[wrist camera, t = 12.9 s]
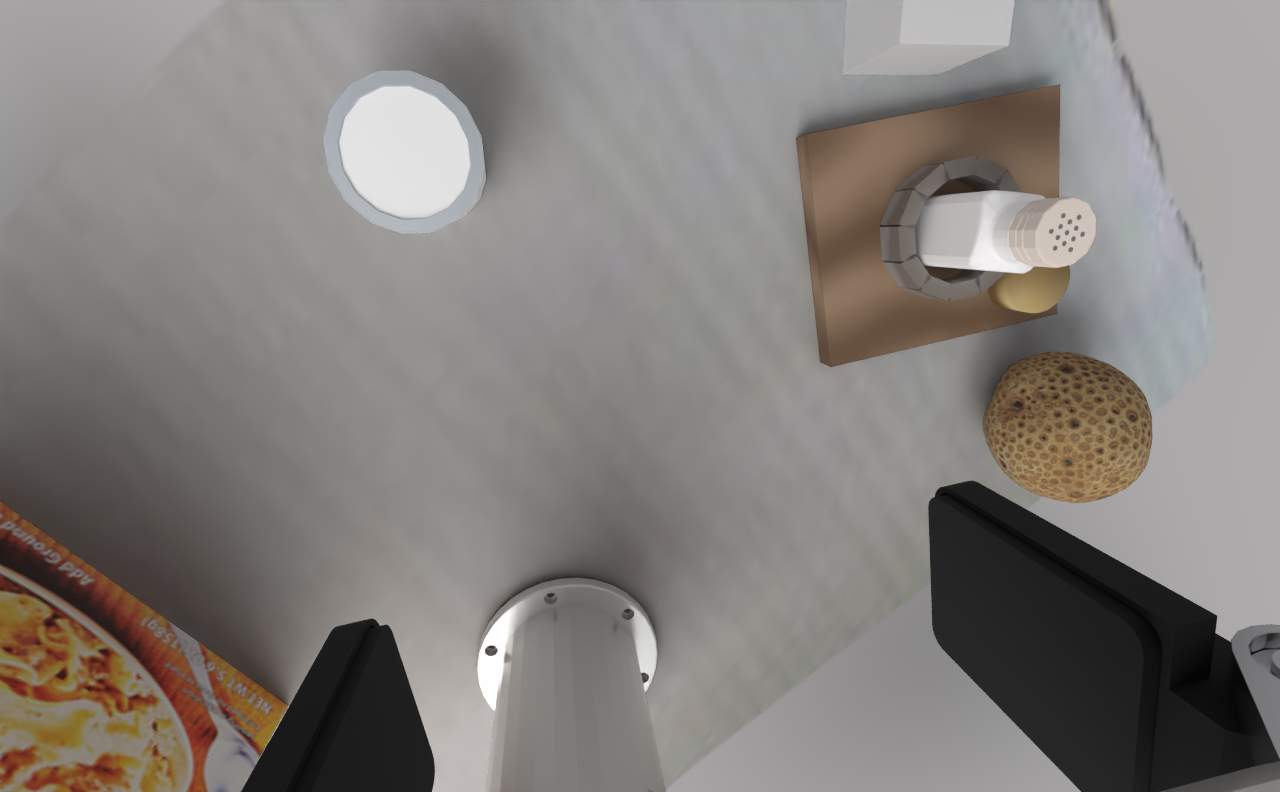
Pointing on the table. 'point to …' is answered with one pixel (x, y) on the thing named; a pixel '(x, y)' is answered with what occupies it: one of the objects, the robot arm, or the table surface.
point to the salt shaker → (1003, 231)
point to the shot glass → (404, 152)
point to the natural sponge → (1068, 427)
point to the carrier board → (862, 199)
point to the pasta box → (111, 685)
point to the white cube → (922, 34)
